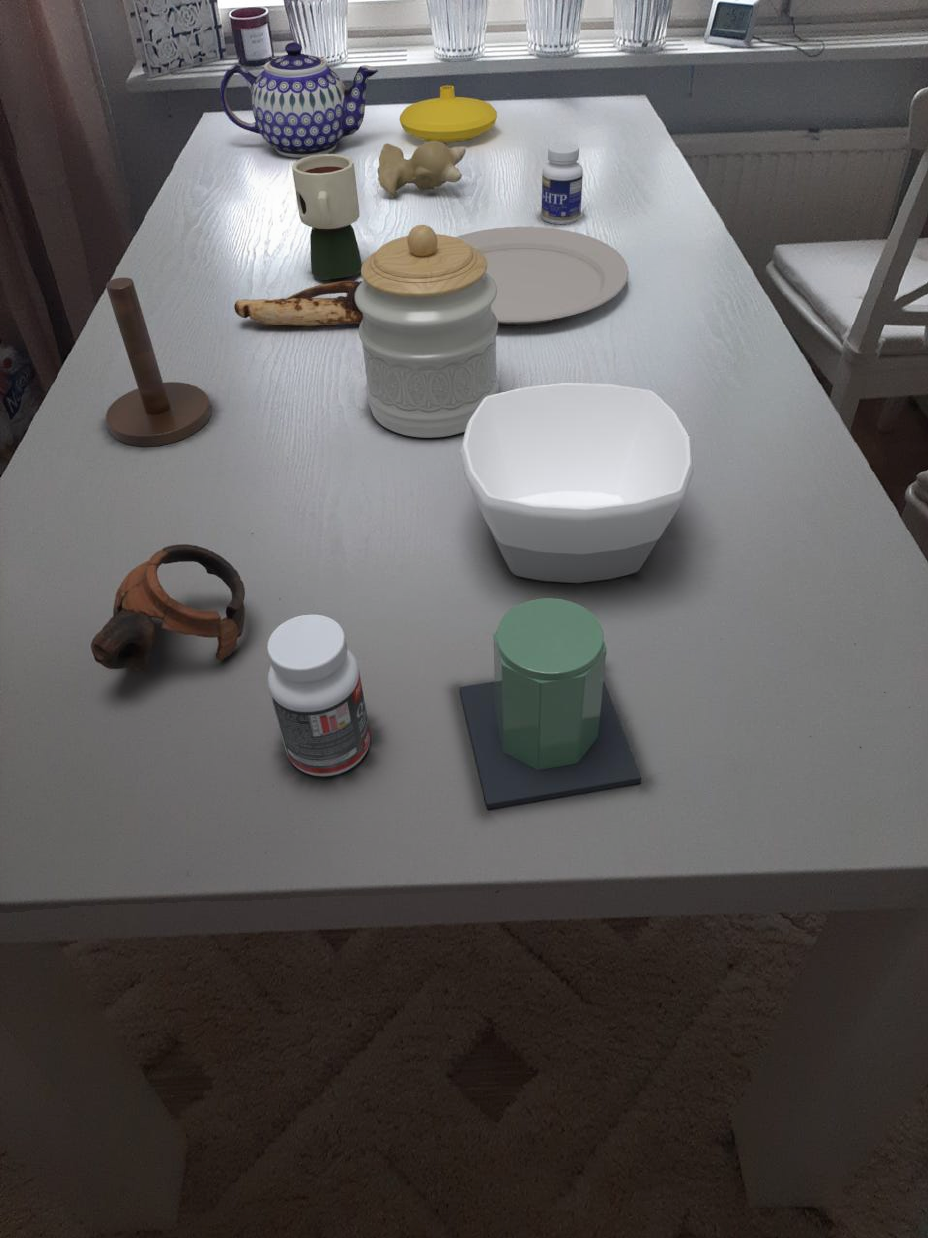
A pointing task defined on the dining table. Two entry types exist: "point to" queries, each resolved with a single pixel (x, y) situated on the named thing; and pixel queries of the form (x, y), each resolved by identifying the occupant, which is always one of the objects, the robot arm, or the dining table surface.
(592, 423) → the bowl
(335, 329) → the dining table surface
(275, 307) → the bone fish hook
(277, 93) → the teapot
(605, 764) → the coaster
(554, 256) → the plate
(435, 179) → the cat figurine
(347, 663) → the pill bottle
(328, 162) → the character mug
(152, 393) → the holder
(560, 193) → the pill bottle
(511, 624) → the cup
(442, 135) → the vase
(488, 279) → the jar
